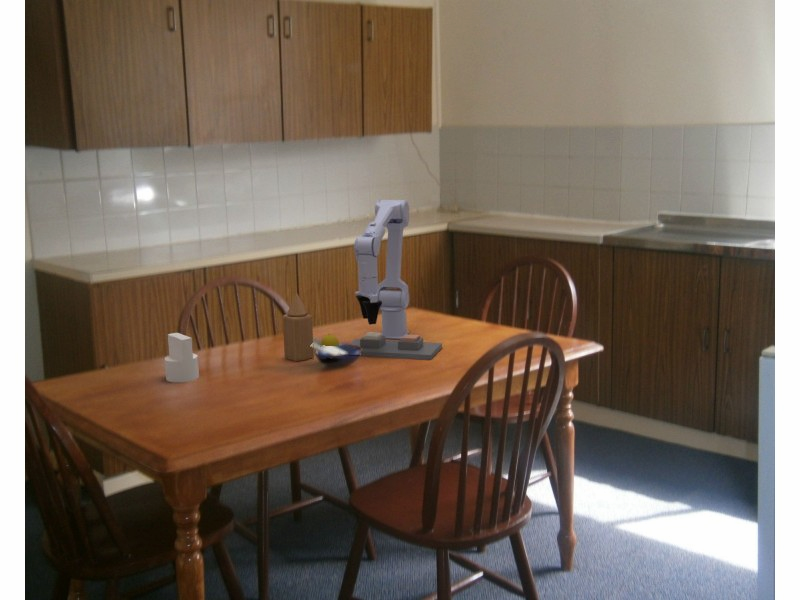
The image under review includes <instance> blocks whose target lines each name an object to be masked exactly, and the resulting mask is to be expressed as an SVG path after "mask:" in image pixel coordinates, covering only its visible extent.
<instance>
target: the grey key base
mask: <svg viewBox="0 0 800 600" xmlns="http://www.w3.org/2000/svg"><path fill="white" fill-rule="evenodd" d="M348 344H352V345H358V346H360V347H361V348H362V351H361V355H360V356H359V357H374V358H387V359H388V358H389V359H390V358H391V359H405V360H407V359H408V360H427V361H432V359H433V358H434V357H436V355H437V354H438V353H439V352H440V351H441V350H442V349H443V342H432V341H431V342H427V341H426V342H425V341H424V337H421V336H420V339H419V340H418V341H417V342H407V341H402V338H401V339H398V340H394V339H393V340H392V339H391V340H390V339H389V340H388V339H387V338H386V336H384V335H382V337H381V338H380V339H379V340H369V339H364V336H363V337H361V338H355V339H353V340H352V341H351V342H349V343H348ZM441 348H442V349H441Z"/></svg>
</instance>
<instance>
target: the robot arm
mask: <svg viewBox="0 0 800 600" xmlns="http://www.w3.org/2000/svg"><path fill="white" fill-rule="evenodd" d="M374 205H375V206H374V215H375V217H374V220H373V221H371V222H370V223H368V224H367V226H366V228H365V230H364V232H363V233H362V234H361V235H360V236H358V237H356V239H355V240H354V243H353V250H354V254H355V260H356V262H357V272H358V273H357V274H358V277H357V278H358V291H355V292H354V294H355V297H356V299H357V301H358V304H359V306H360V310H361V315H362V318H363V319H364V320H365V319H367V323H368V325H377V322H378V317H379V316H378V315H379V312H380V311H381V333H382V335H384V336H386V339H389V340H390V339H391V340H392V339H393V340H400V339H401V338H402V337H403V336H404V335H405V334H410V332H411V331H410V330H407V327H408V326H407V313H406V310H405V309H407V308H408V306H409V304H410V293H409V285H408V284H407V283H405V281H403V280H402V279H401V275H402V272H401V271H402V259H403V258H402V256H403V255H402V252H403V241H404V240H403V238H404V237H403V235H404V228H406V227H408V226H409V222H410V206H409V203H408V200H406V199H377V201H375V204H374ZM385 228H386V229H387V243H386V244H387V246H386V264H385V278H384V279H383V280H382V281H380V282H378V281H379V279H378V277H379V276H378V255H380V252H381V251H380V250H381V245H382V243H381V242H382V240H383V238H384V236H385V234H386V229H385Z"/></svg>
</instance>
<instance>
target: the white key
mask: <svg viewBox="0 0 800 600" xmlns="http://www.w3.org/2000/svg"><path fill="white" fill-rule="evenodd" d="M363 337H364V339H369V340H379V339H380V338H381V337H382V332H371V331H370V332H369V331H368V332H367V333H366V334H364V335H363Z"/></svg>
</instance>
